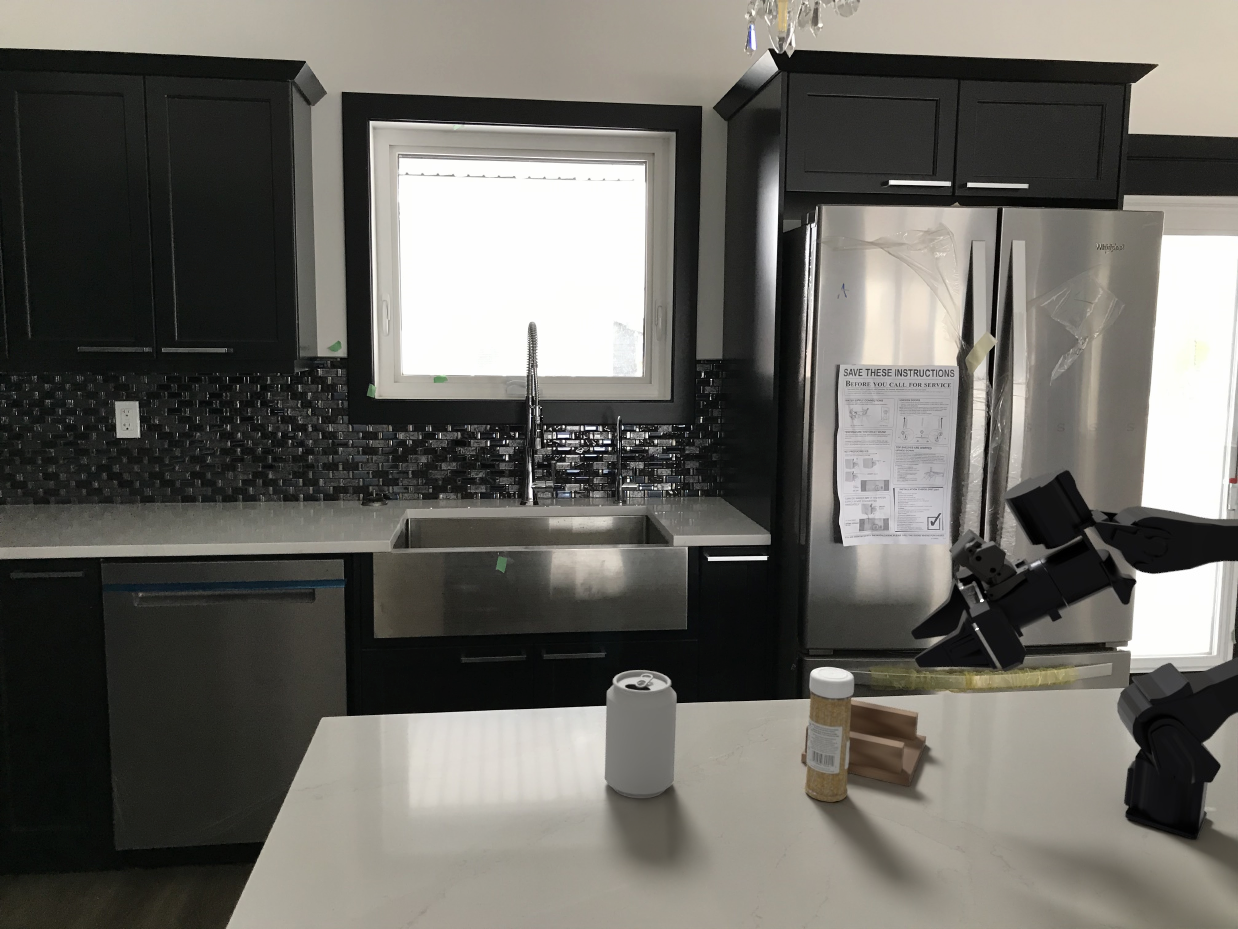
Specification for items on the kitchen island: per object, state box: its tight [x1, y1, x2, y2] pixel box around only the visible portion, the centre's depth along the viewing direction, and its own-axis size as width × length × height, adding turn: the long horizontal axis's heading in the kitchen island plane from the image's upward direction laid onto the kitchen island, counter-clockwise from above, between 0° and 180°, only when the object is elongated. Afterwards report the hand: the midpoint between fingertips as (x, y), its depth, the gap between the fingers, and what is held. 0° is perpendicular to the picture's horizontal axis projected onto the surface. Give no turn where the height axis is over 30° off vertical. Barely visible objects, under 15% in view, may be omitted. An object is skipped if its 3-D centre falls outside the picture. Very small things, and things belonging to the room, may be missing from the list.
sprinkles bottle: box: [804, 666, 855, 803], centre depth 100 cm, size 5×5×13 cm
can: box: [604, 669, 677, 799], centre depth 100 cm, size 8×8×12 cm
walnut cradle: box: [800, 698, 927, 787], centre depth 110 cm, size 12×12×4 cm
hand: (914, 648), depth 101 cm, fingers open, 9 cm apart
